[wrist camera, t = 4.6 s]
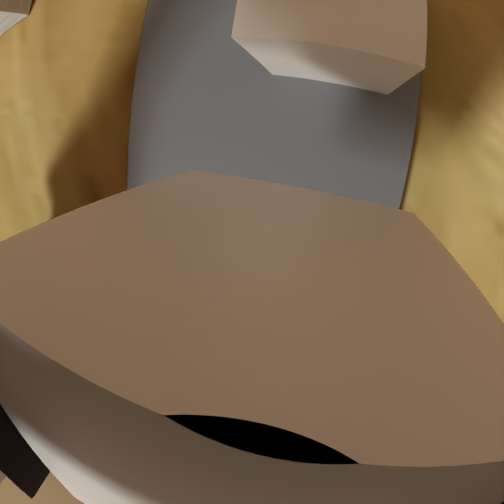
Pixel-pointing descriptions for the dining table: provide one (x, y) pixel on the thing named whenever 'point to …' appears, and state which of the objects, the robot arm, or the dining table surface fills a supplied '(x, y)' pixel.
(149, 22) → the board
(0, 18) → the supplement box
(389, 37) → the block
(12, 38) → the dining table surface
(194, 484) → the empty cover
